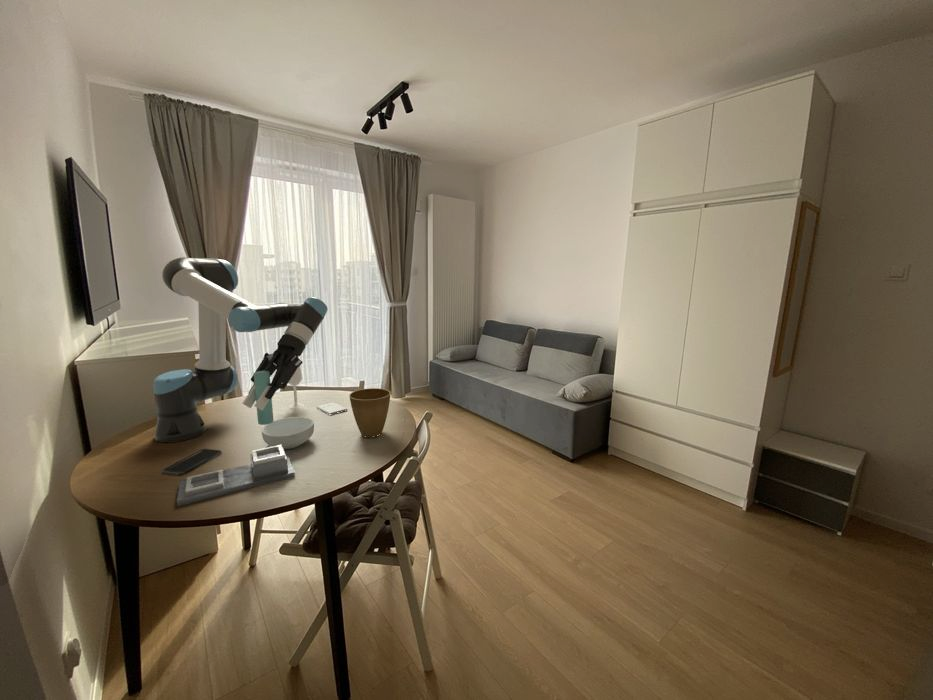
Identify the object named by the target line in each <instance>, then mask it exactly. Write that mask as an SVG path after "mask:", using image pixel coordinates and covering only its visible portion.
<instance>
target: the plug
mask: <svg viewBox="0 0 933 700" xmlns="http://www.w3.org/2000/svg"><path fill="white" fill-rule="evenodd" d="M253 374H254V382H253V384H254V383H255V394H256V401H255V403H256V402H257V401H258V399H259V398H260V396H261V394H262V393H263V391H264V390H265V388H266V387H267V386H270V385H269V383H271V377H270V372H269V371H258V372H255V371H254V372H253ZM270 387H271V386H270ZM272 399H273V397H272V398H271V399H270V400H269V401H268V403H267V405H266V406H265V408H264V409H263V411H262V410H260V409H258V408H257V407H256V413H257V414H256V415H257V424H258V425H262V426H263V425H264V426H265V425H267V424H270V423H272V422H273V421H274V413H273V412H274V411H273V400H272Z"/></svg>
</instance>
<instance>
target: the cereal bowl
mask: <svg viewBox="0 0 933 700" xmlns="http://www.w3.org/2000/svg"><path fill="white" fill-rule="evenodd" d="M314 432H315V422H314V420H313V419H311V418H310V417H307V416H306V417H305V416H293V417H285V418H280V419H276V420H273V422H272V423H270V424H266V425H264V426H263V427H262V429H261V435H262V436H261V437H262V439H263V442H264V443H266V445H268V447H272V446H277V445H281V446H282V447H283V449H284V450H288V449H287V448H290V449H294V448H297V447H299V446H301V445H302V444H304V443H306V442H307V441H308V440H309V439H310V438H311V437H312V436H313V434H314ZM300 444H301V445H300ZM296 446H297V447H296ZM293 447H294V448H293Z"/></svg>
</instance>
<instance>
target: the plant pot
mask: <svg viewBox="0 0 933 700" xmlns="http://www.w3.org/2000/svg"><path fill="white" fill-rule="evenodd" d="M348 397H349V402H350V406H351V410H352V413H353V417H354V421H355V424H356V426H357V428H358V431H359V433H360V435H361V436H362V437H363V436H366V437H373V436H377V435H379V434H381V435H382V433H383V431H384V427H385V424H386V421H387V417H388V413H389V407H390V401H391V400H390V399H391V391H390V390H388V389H385V388H377V387H376V388H374V387H372V388H362V389H357V390H354V391H352V392H350V394H349V395H348ZM379 436H380V435H379ZM366 437H365V438H366ZM377 437H378V436H377ZM373 438H374V437H373Z"/></svg>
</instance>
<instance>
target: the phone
mask: <svg viewBox="0 0 933 700" xmlns="http://www.w3.org/2000/svg"><path fill="white" fill-rule="evenodd" d="M222 453H223V451H222V450H220V449H212V448H211V449H210V448H201V449H200V450H198V451H196V452H194V453H192V454H190V455H188V456H186V457H185V458H183V459H181V460H178V461H177V462H174V463H173V464H171V465H169V466H167V467H165V468H163V470H162V474H166V473H169V474H168V475H174V474H177V475H176V476H185V475H187V474H189V473H190V472H192V471H194V470H195V468H196V469H197V467H198V468H199V467H201V466H203V465H204V464H206V463H209V461H211V460H213V459H215V458H217V457H218V456H221V455H222ZM188 472H189V473H188ZM186 473H187V474H186ZM184 474H185V475H184Z"/></svg>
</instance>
